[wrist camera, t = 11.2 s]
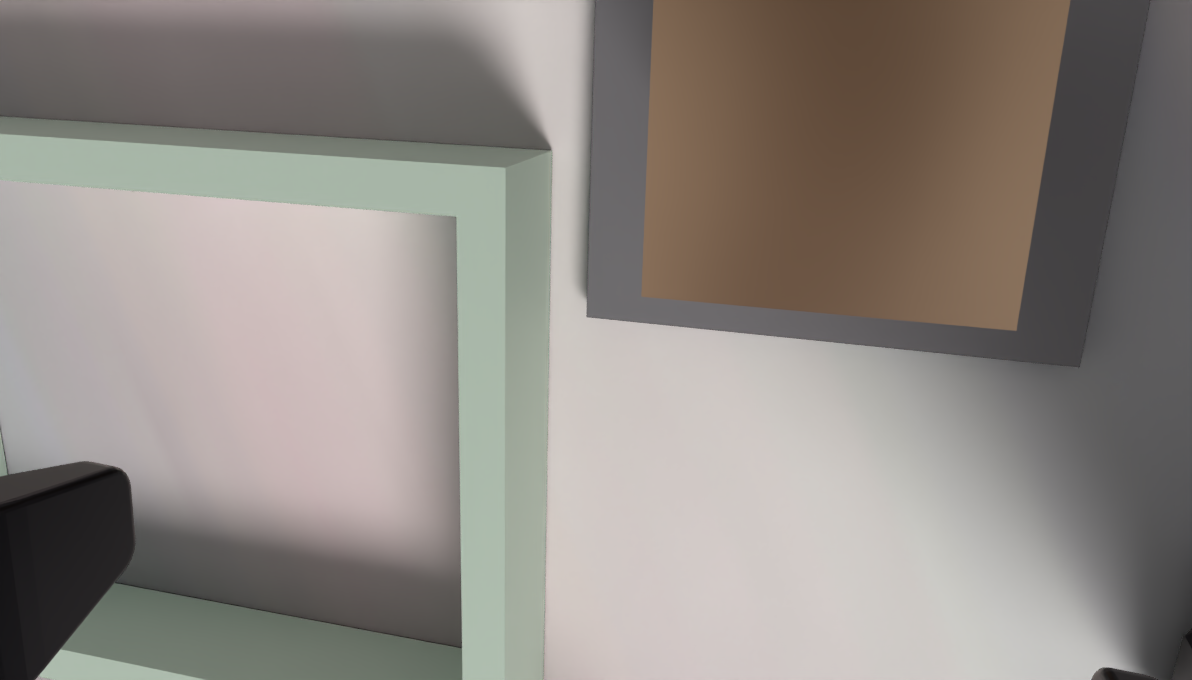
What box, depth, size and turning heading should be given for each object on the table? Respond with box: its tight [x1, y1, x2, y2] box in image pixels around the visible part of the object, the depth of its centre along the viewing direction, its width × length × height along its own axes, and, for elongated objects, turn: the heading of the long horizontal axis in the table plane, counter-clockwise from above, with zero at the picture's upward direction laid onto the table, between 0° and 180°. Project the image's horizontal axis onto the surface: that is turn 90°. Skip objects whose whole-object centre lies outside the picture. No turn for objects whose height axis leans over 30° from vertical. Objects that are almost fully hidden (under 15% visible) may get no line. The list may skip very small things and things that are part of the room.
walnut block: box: [641, 0, 1070, 331], centre depth 15 cm, size 4×4×8 cm
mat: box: [587, 0, 1150, 367], centre depth 19 cm, size 10×10×1 cm
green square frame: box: [0, 116, 552, 680], centre depth 24 cm, size 17×14×3 cm
